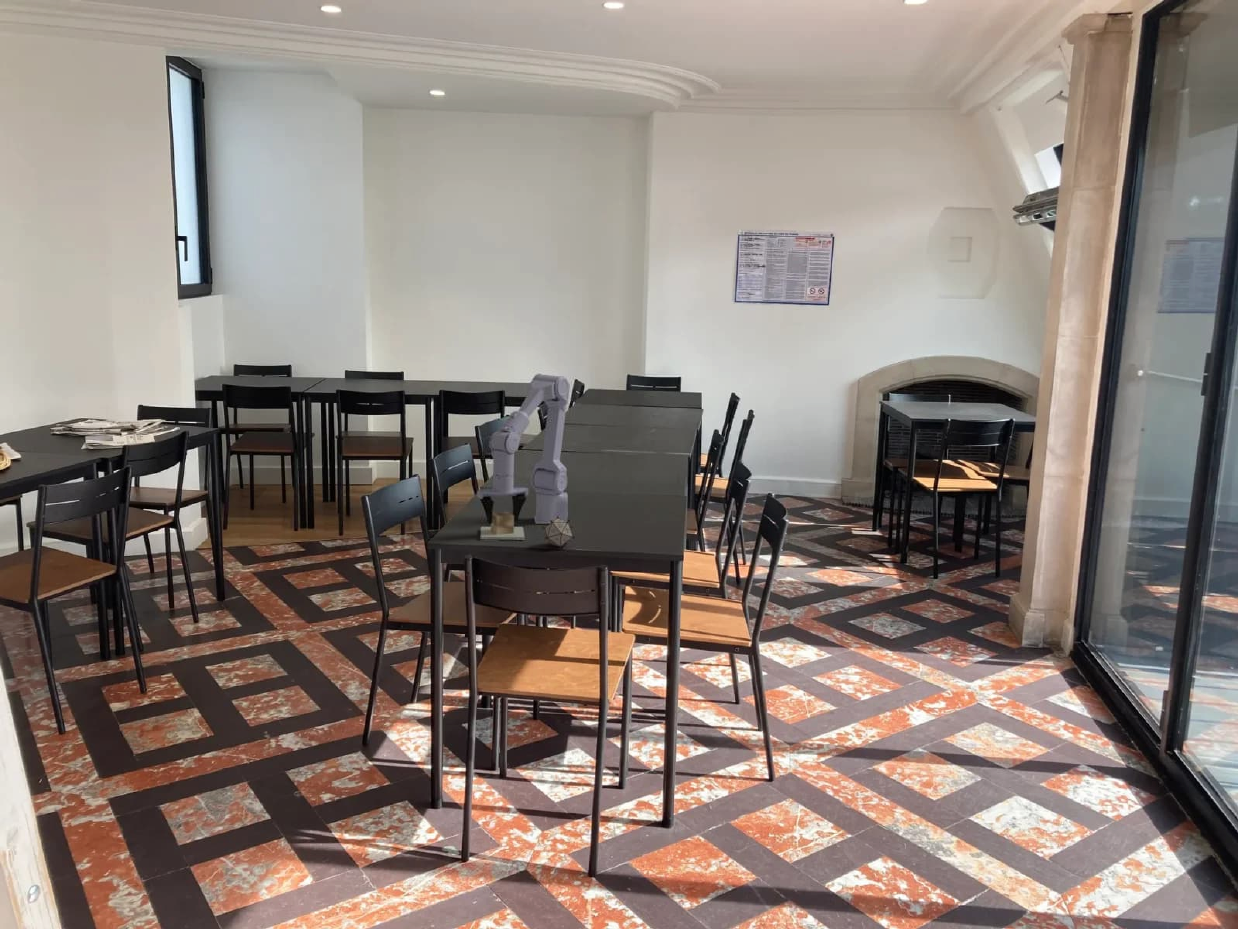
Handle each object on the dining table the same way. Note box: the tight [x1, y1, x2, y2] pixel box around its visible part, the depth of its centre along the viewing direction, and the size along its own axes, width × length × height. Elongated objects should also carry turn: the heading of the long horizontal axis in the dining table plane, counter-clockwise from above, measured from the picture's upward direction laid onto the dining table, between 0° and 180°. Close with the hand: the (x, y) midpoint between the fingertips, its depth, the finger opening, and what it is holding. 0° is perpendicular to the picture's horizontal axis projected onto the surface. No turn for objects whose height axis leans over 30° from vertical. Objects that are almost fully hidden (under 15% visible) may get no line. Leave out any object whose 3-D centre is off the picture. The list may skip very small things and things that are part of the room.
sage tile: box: [480, 526, 525, 541], centre depth 266 cm, size 12×11×1 cm
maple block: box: [490, 511, 515, 535], centre depth 266 cm, size 5×5×5 cm
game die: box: [541, 516, 576, 550], centre depth 256 cm, size 9×8×10 cm
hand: (502, 521), depth 265 cm, fingers open, 7 cm apart
